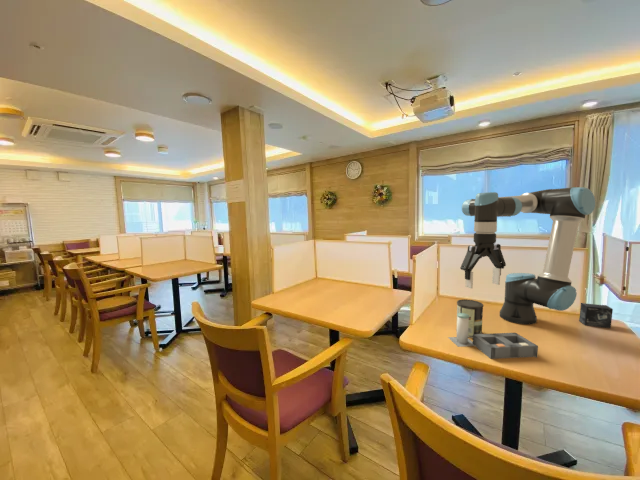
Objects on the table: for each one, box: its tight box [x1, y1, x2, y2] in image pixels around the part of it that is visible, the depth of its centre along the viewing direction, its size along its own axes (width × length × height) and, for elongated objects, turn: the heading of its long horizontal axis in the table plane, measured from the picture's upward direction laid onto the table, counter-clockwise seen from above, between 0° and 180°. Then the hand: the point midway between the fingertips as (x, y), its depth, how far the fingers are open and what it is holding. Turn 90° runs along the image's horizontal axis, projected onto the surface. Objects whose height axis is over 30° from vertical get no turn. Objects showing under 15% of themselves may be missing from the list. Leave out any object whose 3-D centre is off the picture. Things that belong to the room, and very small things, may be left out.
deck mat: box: [447, 336, 475, 348], centre depth 113 cm, size 8×8×1 cm
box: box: [578, 302, 614, 329], centre depth 126 cm, size 9×6×10 cm, turn 68°
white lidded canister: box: [456, 313, 469, 344], centre depth 112 cm, size 4×4×12 cm
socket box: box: [472, 332, 539, 360], centre depth 105 cm, size 18×11×5 cm, turn 93°
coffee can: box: [455, 299, 484, 339], centre depth 120 cm, size 10×10×14 cm
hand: (482, 285), depth 107 cm, fingers open, 13 cm apart
